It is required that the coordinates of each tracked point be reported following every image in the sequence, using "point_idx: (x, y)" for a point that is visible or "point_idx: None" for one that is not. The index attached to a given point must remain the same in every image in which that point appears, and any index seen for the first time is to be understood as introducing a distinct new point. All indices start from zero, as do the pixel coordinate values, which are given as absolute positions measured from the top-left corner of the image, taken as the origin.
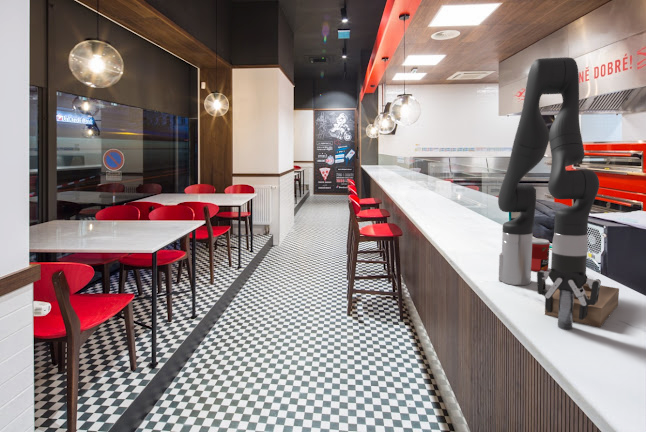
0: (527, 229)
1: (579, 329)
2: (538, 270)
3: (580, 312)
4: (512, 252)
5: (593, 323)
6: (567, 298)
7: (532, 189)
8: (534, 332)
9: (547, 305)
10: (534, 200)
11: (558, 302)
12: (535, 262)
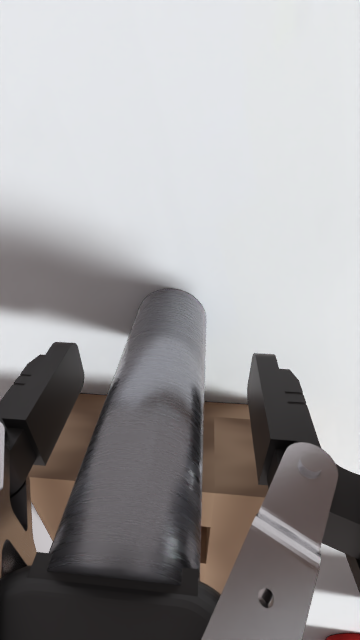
0: None
1: (110, 329)
2: (350, 638)
3: (45, 374)
4: None
5: (84, 401)
6: (105, 463)
7: None
8: (313, 107)
9: (285, 394)
10: None
11: (236, 476)
12: None
